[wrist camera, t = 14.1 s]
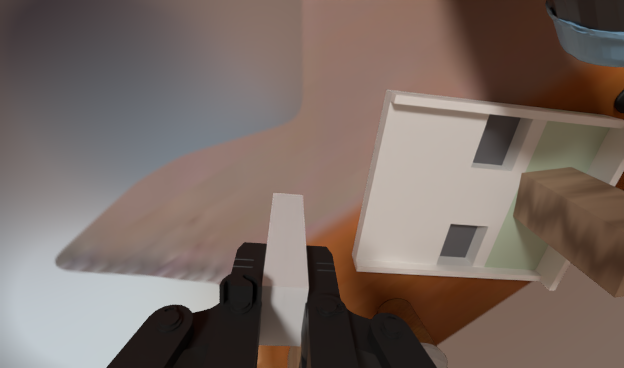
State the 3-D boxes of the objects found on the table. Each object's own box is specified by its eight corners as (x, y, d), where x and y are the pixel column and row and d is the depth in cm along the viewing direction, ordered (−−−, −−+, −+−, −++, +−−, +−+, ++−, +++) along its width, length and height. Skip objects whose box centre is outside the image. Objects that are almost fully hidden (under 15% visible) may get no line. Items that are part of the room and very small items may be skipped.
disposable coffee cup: (427, 318, 58) (458, 383, 47) (379, 336, 59) (399, 403, 48) (410, 283, 54) (440, 345, 43) (360, 304, 55) (377, 369, 44)
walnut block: (521, 172, 43) (638, 240, 29) (571, 166, 43) (712, 231, 29) (512, 216, 46) (614, 297, 32) (559, 210, 46) (682, 289, 32)
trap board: (351, 254, 50) (359, 280, 45) (386, 89, 40) (401, 97, 34) (528, 265, 54) (554, 290, 48) (604, 114, 43) (649, 125, 37)
